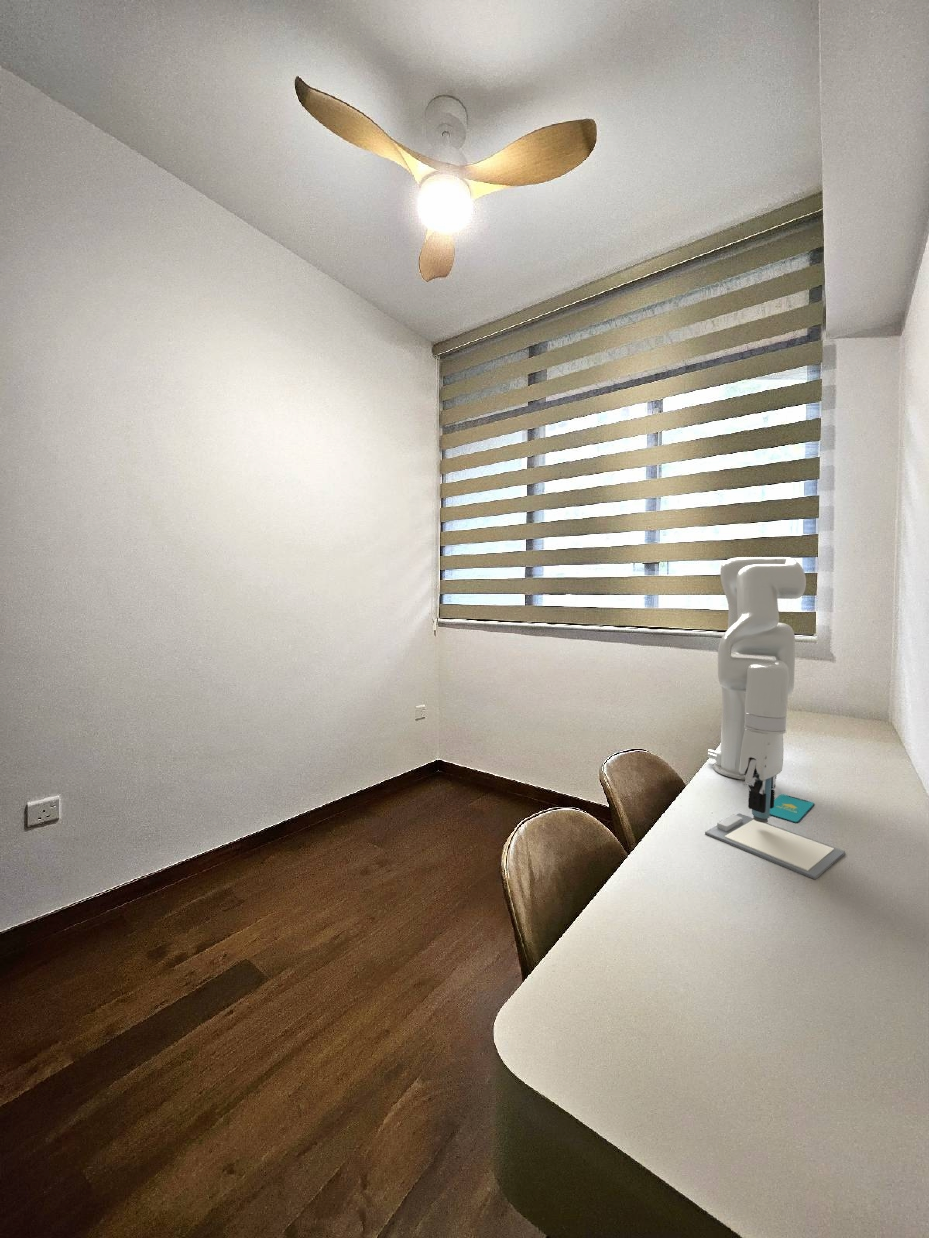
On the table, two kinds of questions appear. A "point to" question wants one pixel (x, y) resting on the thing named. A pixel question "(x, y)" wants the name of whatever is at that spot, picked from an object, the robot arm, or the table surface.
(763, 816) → the bottle
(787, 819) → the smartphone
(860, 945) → the table surface
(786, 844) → the clipboard
